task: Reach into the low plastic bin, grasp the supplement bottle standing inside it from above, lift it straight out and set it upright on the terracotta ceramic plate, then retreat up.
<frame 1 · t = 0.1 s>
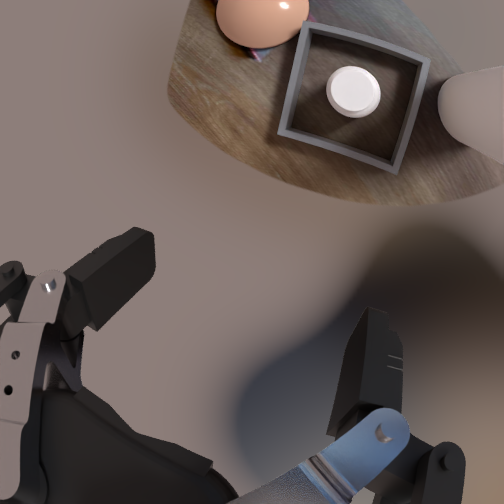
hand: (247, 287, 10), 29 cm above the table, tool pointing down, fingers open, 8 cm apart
alcohol: (466, 109, 24), on the table
bin: (354, 94, 29), on the table
plate: (262, 8, 27), on the table
supplement bottle: (354, 94, 29), resting in bin
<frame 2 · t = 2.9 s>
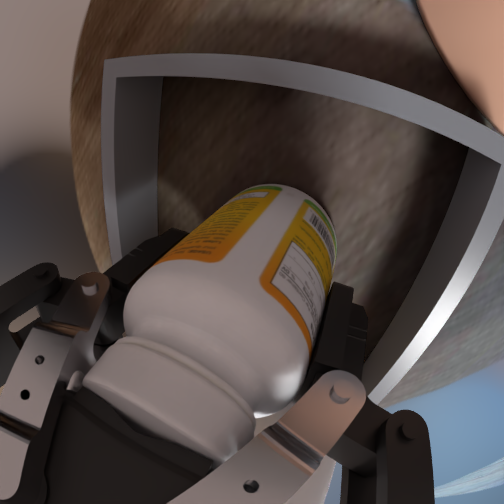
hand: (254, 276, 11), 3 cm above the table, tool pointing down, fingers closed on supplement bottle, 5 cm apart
alcohol: (290, 409, 20), on the table
bin: (277, 239, 13), on the table
supplement bottle: (279, 237, 13), resting in bin, touching gripper
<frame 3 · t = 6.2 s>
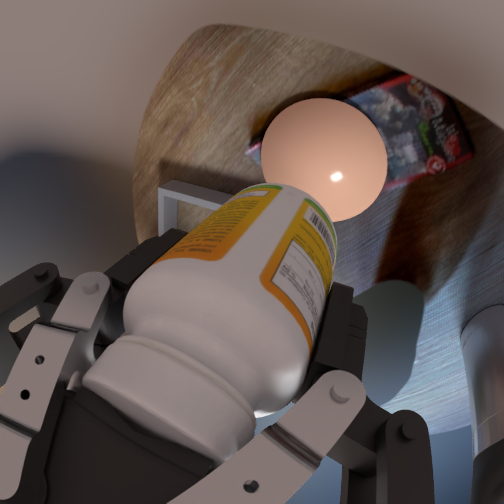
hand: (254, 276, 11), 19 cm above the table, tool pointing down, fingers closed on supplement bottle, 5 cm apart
bin: (222, 249, 35), on the table
plate: (323, 160, 26), on the table
supplement bottle: (279, 236, 13), point 16 cm above the table, touching gripper
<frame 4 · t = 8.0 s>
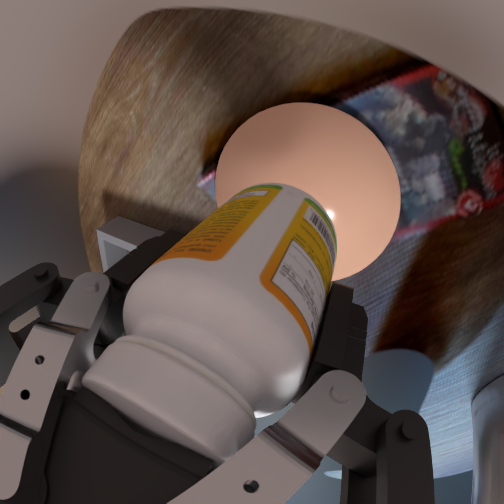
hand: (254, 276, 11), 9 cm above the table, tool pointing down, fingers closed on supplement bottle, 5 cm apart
bin: (181, 302, 28), on the table
plate: (305, 196, 18), on the table
supplement bottle: (279, 236, 13), point 6 cm above the table, touching gripper
when the fingers open (5 cm above the table, at t = 9.4 s): supplement bottle drops 1 cm, resting on plate.
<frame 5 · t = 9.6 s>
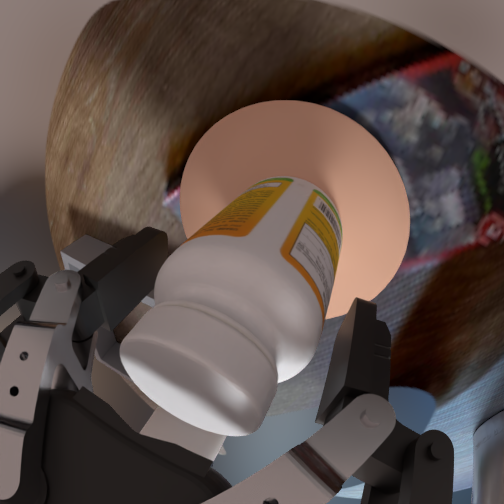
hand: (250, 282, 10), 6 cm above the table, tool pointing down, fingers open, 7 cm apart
alcohol: (198, 411, 31), on the table
bin: (157, 328, 24), on the table
plate: (289, 219, 15), on the table
supplement bottle: (289, 225, 14), point 1 cm above the table, touching plate
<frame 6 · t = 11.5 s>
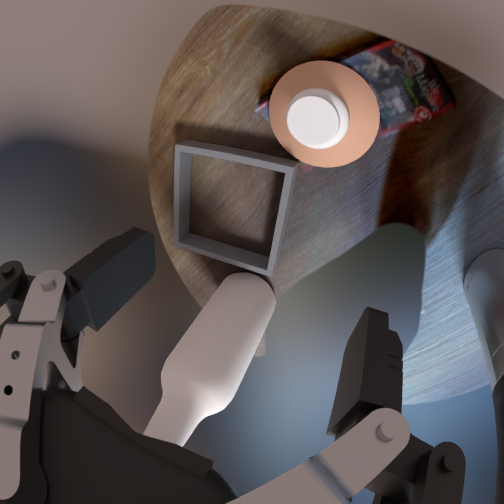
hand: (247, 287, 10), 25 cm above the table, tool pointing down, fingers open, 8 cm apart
alcohol: (250, 292, 45), on the table
bin: (233, 202, 38), on the table
plate: (324, 113, 28), on the table
supplement bottle: (325, 114, 28), point 1 cm above the table, touching plate
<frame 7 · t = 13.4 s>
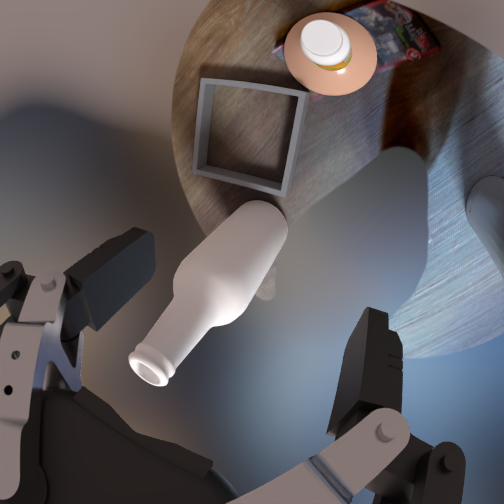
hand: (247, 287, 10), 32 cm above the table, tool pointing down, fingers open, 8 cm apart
alcohol: (262, 224, 46), on the table
bin: (250, 132, 39), on the table
plate: (330, 53, 30), on the table
supplement bottle: (331, 52, 29), point 1 cm above the table, touching plate
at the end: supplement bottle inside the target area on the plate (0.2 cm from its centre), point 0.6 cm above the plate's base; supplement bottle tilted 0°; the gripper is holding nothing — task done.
